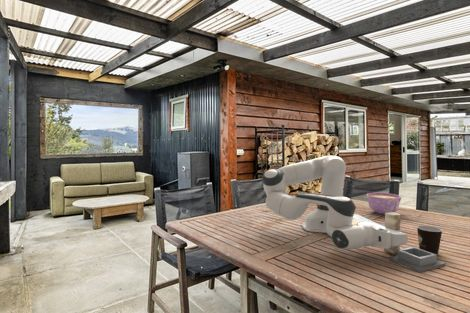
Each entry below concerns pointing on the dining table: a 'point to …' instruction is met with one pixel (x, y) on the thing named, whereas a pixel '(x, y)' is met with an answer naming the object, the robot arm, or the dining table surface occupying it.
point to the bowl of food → (383, 202)
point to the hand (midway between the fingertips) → (393, 229)
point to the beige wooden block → (393, 223)
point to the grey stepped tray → (417, 259)
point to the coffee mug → (429, 238)
